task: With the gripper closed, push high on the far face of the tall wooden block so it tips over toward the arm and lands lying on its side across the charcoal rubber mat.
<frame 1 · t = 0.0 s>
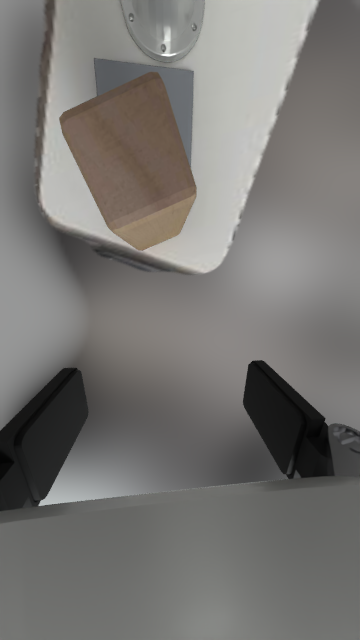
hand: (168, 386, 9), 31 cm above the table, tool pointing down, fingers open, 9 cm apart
wooden block: (150, 218, 34), on the table
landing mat: (147, 122, 30), on the table
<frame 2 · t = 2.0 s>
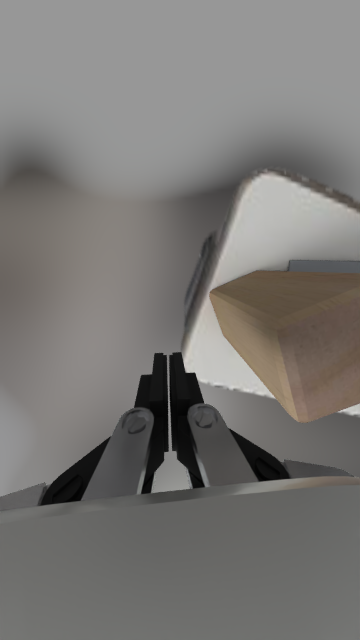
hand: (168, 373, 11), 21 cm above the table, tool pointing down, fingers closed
wooden block: (239, 304, 31), on the table
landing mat: (315, 304, 32), on the table
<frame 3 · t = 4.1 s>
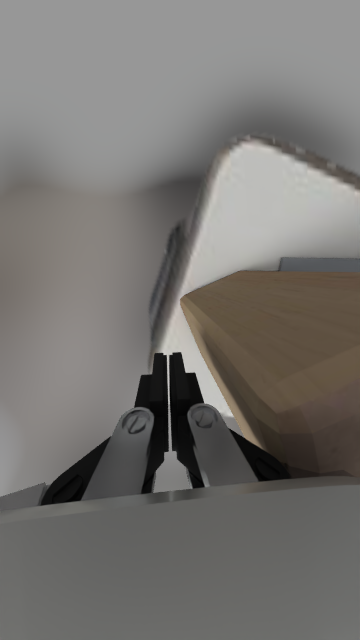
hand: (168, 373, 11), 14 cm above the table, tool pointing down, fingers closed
wooden block: (220, 314, 25), on the table, touching gripper
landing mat: (314, 313, 26), on the table
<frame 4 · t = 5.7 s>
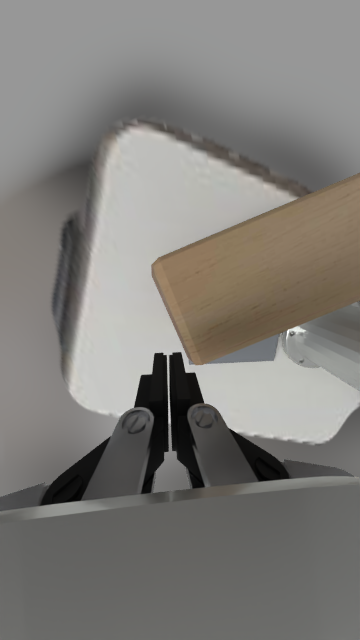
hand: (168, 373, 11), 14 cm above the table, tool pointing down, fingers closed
wooden block: (167, 310, 18), point 5 cm above the table, touching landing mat
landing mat: (237, 313, 25), on the table
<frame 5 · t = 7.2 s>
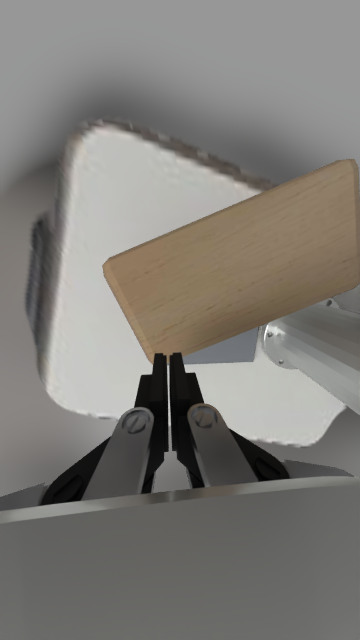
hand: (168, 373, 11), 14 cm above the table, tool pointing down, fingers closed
wooden block: (133, 310, 18), point 5 cm above the table, touching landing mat
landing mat: (213, 314, 25), on the table
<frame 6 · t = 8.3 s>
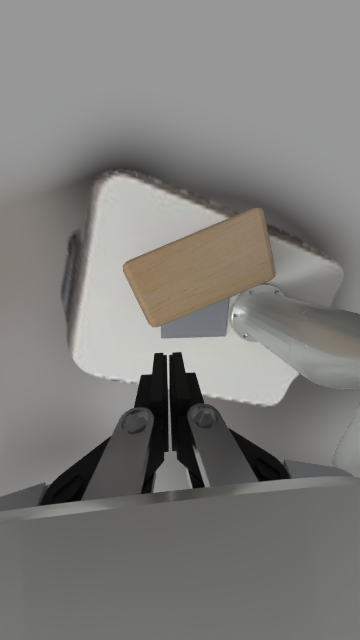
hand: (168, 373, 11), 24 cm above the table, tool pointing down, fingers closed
wooden block: (138, 295, 27), point 5 cm above the table, touching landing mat
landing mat: (194, 300, 34), on the table
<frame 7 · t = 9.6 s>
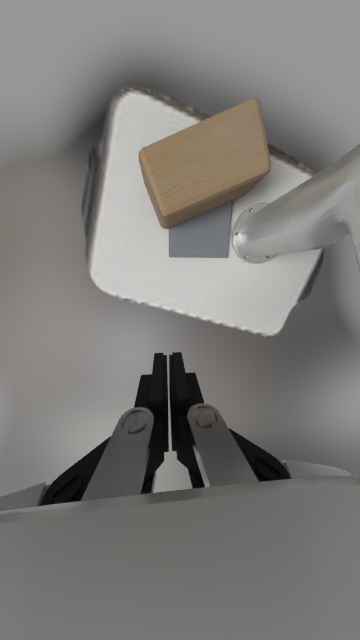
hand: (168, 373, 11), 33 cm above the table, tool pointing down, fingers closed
wooden block: (150, 198, 31), point 5 cm above the table, touching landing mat
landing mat: (199, 219, 38), on the table
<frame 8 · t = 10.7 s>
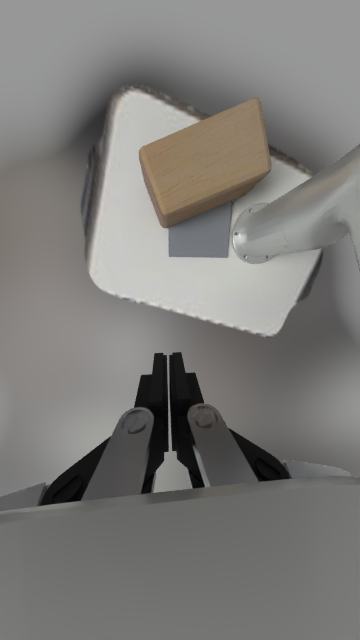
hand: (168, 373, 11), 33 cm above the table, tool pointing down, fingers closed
wooden block: (150, 197, 31), point 5 cm above the table, touching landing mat
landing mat: (199, 219, 38), on the table
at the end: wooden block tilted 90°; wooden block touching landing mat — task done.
